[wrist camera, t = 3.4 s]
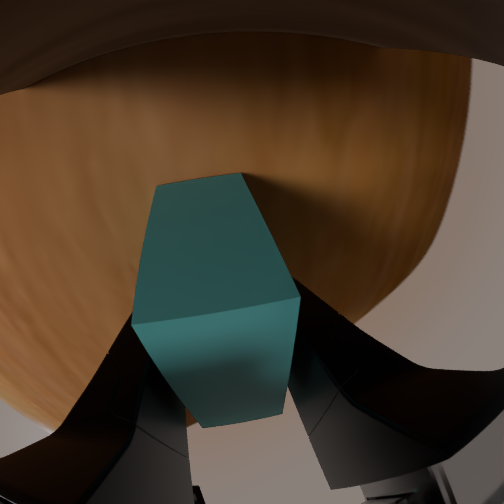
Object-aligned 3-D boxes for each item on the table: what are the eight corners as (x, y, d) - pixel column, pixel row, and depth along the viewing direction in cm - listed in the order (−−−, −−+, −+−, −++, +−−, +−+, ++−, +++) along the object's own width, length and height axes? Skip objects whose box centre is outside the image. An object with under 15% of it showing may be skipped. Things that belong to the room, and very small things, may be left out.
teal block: (249, 301, 11) (282, 413, 7) (189, 311, 11) (202, 428, 7) (240, 172, 8) (301, 296, 4) (156, 185, 7) (130, 325, 4)
